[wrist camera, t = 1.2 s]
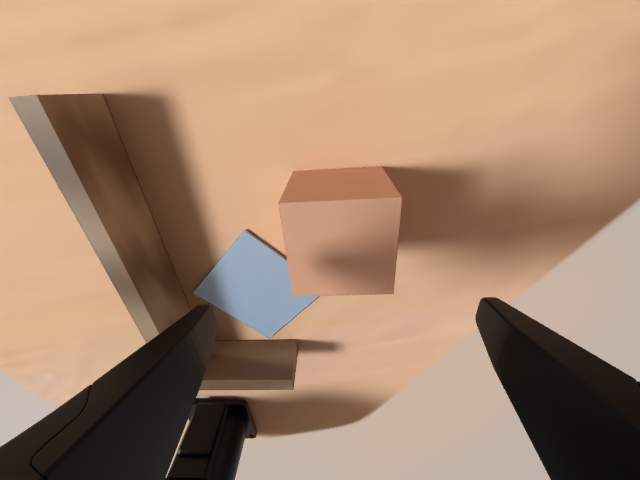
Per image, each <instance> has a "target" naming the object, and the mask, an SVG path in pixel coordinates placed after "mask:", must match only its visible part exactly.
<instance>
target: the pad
mask: <svg viewBox="0 0 640 480" xmlns="http://www.w3.org/2000/svg"><path fill="white" fill-rule="evenodd" d="M193 294H195V295H197V296H198V297H200V298H202V299H204V300H205V301H207V302H209V303H210V304H212V305H214V306H215V307H217V308H219V309H220V310H222V311H224V312H226V313H227V314H229V315H231V316H232V317H234V318H236V319H237V320H239V321H241V322H243V323H244V324H246V325H248V326H249V327H251V328H253V329H254V330H256V331H258V332H259V333H261V334H263V335H265V336H266V337H268V338H270V337H271V336H273V335H274V334H275V333H276V332H277V331H278V330H280V329H281V328H282V327H283V326H284V325H285V324H287V323H288V322H289V321H290V320H291V319H292V318H294V317H295V316H296V315H297V314H298V313H299V312H301V311H302V310H303V309H304V308H305V307H307V306H308V305H309V304H310V303H311V302H312V301H314V300H315V299H316V298H317V297H318V296H295V297H293V296H292V290H291V283H290V277H289V270H288V263H287V259H286V258H285V257H283V256H282V255H280V254H279V253H278V252H276V251H275V250H273V249H272V248H271V247H269V246H268V245H266V244H265V243H264V242H262V241H261V240H259V239H258V238H257V237H255V236H254V235H253V234H251V233H250V232H248V231H247V230H245V231H244V232H243V233H242V234H241V236H240V237H239V238H238V239H237V240H236V242H235V243H234V244H233V245H232V246H231V248H230V249H229V250H228V251H227V252H226V254H225V255H224V256H223V257H222V258H221V260H220V261H219V262H218V263H217V264H216V266H215V267H214V268H213V269H212V270H211V271H210V273H209V274H208V275H207V276H206V277H205V279H204V280H203V281H202V282H201V283H200V285H199V286H198V287H197V288H196V289H195V291H194V292H193Z"/></svg>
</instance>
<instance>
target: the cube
mask: <svg viewBox="0 0 640 480" xmlns="http://www.w3.org/2000/svg"><path fill="white" fill-rule="evenodd" d="M278 204H279V210H280V217H281V224H282V230H283V237H284V243H285V250H286V257H287V263H288V270H289V277H290V283H291V290H292V296H293V297H295V296H334V295H373V294H394V283H395V272H396V260H397V249H398V238H399V227H400V216H401V204H402V196H401V195H400V193H399V192H398V190H397V189H396V187H395V186H394V184H393V183H392V181H391V180H390V178H389V177H388V175H387V173H386V172H385V170H384V169H383V167H382V166H380V167H362V168H344V169H326V170H309V171H293V173H292V175H291V177H290V180H289V182H288V184H287V186H286V188H285V190H284V192H283V195H282V197H281V199H280V201H279V203H278Z"/></svg>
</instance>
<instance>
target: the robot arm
mask: <svg viewBox="0 0 640 480" xmlns="http://www.w3.org/2000/svg"><path fill="white" fill-rule="evenodd" d="M476 324H477V326H478V329H479V331H480V334H481V337H482V339H483V341H484V344H485V347H486V349H487V352H488V355H489V357H490V360H491V362H492V365H493V367H494V369H495V371H496V373H497V375H498V377H499V379H500V381H501V383H502V385H503V387H504V389H505V391H506V393H507V395H508V397H509V399H510V401H511V403H512V404H513V407H514V408H515V411H516V412H517V414H518V416H519V418H520V420H521V422H522V424H523V426H524V428H525V430H526V432H527V434H528V436H529V438H530V440H531V442H532V444H533V446H534V448H535V450H536V451H537V453H538V455H539V457H540V459H541V461H542V463H543V465H544V467H545V469H546V471H547V473H548V475H549V477H550V479H551V480H640V382H637V381H636V380H635V379H634V378H633V377H631V376H629V375H627V374H626V373H624V372H622V371H621V370H619V369H617V368H616V367H614V366H612V365H610V364H609V363H607V362H605V361H603V360H602V359H600V358H598V357H597V356H595V355H593V354H592V353H590V352H588V351H587V350H585V349H583V348H582V347H580V346H578V345H576V344H575V343H573V342H571V341H570V340H568V339H566V338H564V337H563V336H561V335H559V334H558V333H556V332H554V331H553V330H551V329H549V328H547V327H546V326H544V325H542V324H540V323H539V322H537V321H536V320H534V319H532V318H530V317H529V316H527V315H525V314H523V313H522V312H520V311H518V310H517V309H515V308H513V307H512V306H510V305H508V304H507V303H505V302H503V301H501V300H500V299H498V298H495V297H484V298H482V299H481V300H480V303H479V306H478V310H477V313H476ZM217 329H218V320H217V317H216V315H215V312H214V309H213V306H212V305H210V304H204V305H198V306H197V307H195V308H194V309H192V310H191V311H190V312H188V313H187V314H186V315H184V316H183V317H182V318H180V319H179V320H178V321H176V322H175V323H173V324H172V325H171V326H169V327H168V328H167V329H165V330H164V331H163V332H161V333H160V334H159V335H157V336H156V337H154V338H153V339H152V340H150V341H149V342H148V343H146V344H145V345H144V346H142V347H141V348H140V349H138V350H137V351H135V352H134V353H133V354H131V355H130V356H129V357H127V358H126V359H125V360H123V361H122V362H120V363H119V364H118V365H116V366H115V367H114V368H112V369H111V370H110V371H108V372H107V373H106V374H104V375H103V376H101V377H100V378H99V379H97V380H96V381H95V382H93V384H92V385H89V386H88V387H86V388H85V389H84V390H82V391H81V392H80V393H78V394H77V395H76V396H74V397H73V398H71V399H70V400H69V401H67V402H66V403H64V404H63V405H62V406H60V407H59V408H58V409H56V410H55V411H53V412H52V413H50V414H49V415H47V416H46V417H44V418H43V419H42V420H40V421H39V422H37V423H36V424H34V425H33V426H31V427H30V428H28V429H27V430H25V431H24V432H22V433H21V434H19V435H18V436H16V437H15V438H13V439H12V440H10V441H9V442H7V443H6V444H4V445H3V446H1V447H0V480H235V476H236V472H237V468H238V464H239V460H240V456H241V452H242V448H243V444H244V440H245V438H255V437H256V435H257V431H256V428H255V425H254V422H253V419H252V416H251V413H250V411H249V408H248V405H247V403H246V402H245V401H242V400H195V399H196V396H197V394H198V391H199V388H200V386H201V383H202V381H203V378H204V375H205V372H206V370H207V366H208V363H209V359H210V355H211V352H212V348H213V344H214V340H215V337H216V333H217ZM188 419H189V420H190V422H189V425H188V427H187V430H186V432H185V434H184V437H183V439H182V441H181V444H180V446H179V448H178V452H177V454H176V457H175V459H174V461H173V464H172V466H171V468H170V471H169V473H168V476H167V478H165V477H166V474H167V472H168V469H169V467H170V464H171V461H172V458H173V456H174V454H175V451H176V448H177V446H178V443H179V441H180V438H181V435H182V433H183V430H184V428H185V425H186V422H187V420H188Z"/></svg>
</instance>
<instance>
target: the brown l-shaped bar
mask: <svg viewBox="0 0 640 480" xmlns="http://www.w3.org/2000/svg"><path fill="white" fill-rule="evenodd" d="M8 98H9V99H10V101H11V103H12V105H13V107H14V108H15V110H16V112H17V114H18V116H19V117H20V119H21V121H22V123H23V124H24V126H25V128H26V130H27V132H28V133H29V135H30V137H31V139H32V140H33V142H34V144H35V146H36V148H37V149H38V151H39V153H40V155H41V156H42V158H43V160H44V162H45V164H46V165H47V167H48V169H49V171H50V172H51V174H52V176H53V178H54V180H55V181H56V183H57V185H58V187H59V188H60V190H61V192H62V194H63V196H64V197H65V199H66V201H67V203H68V204H69V206H70V208H71V210H72V212H73V213H74V215H75V217H76V219H77V221H78V222H79V224H80V226H81V228H82V229H83V231H84V233H85V235H86V237H87V238H88V240H89V242H90V244H91V245H92V247H93V249H94V251H95V253H96V254H97V256H98V258H99V260H100V261H101V263H102V265H103V267H104V269H105V270H106V272H107V274H108V276H109V277H110V279H111V281H112V283H113V285H114V286H115V288H116V290H117V292H118V293H119V295H120V297H121V299H122V301H123V302H124V304H125V306H126V308H127V309H128V311H129V313H130V315H131V317H132V318H133V320H134V322H135V324H136V325H137V327H138V329H139V331H140V333H141V334H142V336H143V338H144V340H145V342H146V343H148V342H149V341H150V340H152V339H153V338H154V337H156V336H157V335H159V334H160V333H161V332H163V331H164V330H165V329H167V328H168V327H169V326H171V325H172V324H173V323H175V322H176V321H178V320H179V319H180V318H182V317H183V316H184V315H186V314H187V313H188V312H190V311H191V310H190V308H189V305H188V303H187V300H186V298H185V296H184V293H183V291H182V288H181V286H180V283H179V281H178V278H177V276H176V273H175V271H174V269H173V266H172V264H171V261H170V259H169V256H168V254H167V251H166V249H165V246H164V244H163V242H162V239H161V237H160V234H159V232H158V229H157V227H156V224H155V222H154V219H153V217H152V215H151V212H150V210H149V207H148V205H147V202H146V200H145V197H144V195H143V192H142V190H141V188H140V185H139V183H138V180H137V178H136V175H135V173H134V170H133V168H132V165H131V163H130V161H129V158H128V156H127V153H126V151H125V148H124V146H123V143H122V141H121V138H120V136H119V134H118V131H117V129H116V126H115V124H114V121H113V119H112V116H111V114H110V111H109V109H108V107H107V104H106V102H105V99H104V97H103V94H63V95H30V96H17V97H8ZM297 356H298V344H297V340H243V341H214V344H213V348H212V352H211V355H210V359H209V363H208V366H207V370H206V372H205V375H204V378H203V381H202V383H201V386H200V388H199V390H293V388H294V380H295V372H296V364H297Z"/></svg>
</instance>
